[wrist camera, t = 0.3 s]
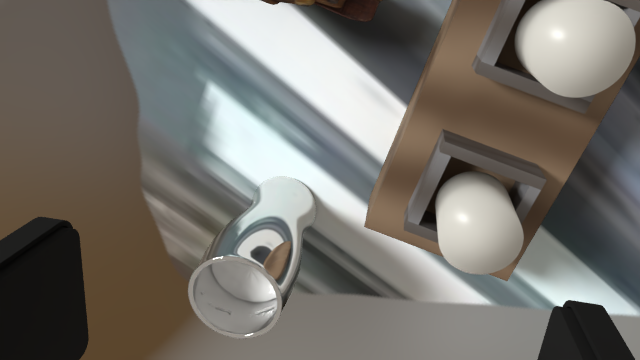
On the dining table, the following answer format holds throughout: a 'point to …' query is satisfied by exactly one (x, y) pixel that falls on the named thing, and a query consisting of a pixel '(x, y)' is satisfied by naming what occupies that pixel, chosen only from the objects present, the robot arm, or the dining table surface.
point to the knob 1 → (477, 223)
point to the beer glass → (254, 261)
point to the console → (484, 126)
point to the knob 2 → (575, 45)
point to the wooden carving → (341, 7)
